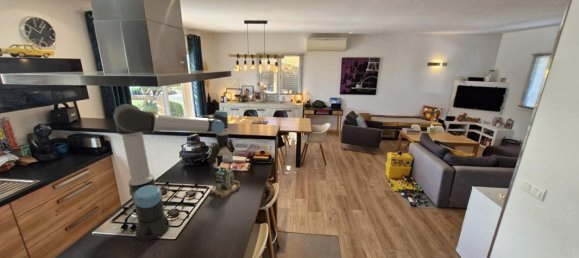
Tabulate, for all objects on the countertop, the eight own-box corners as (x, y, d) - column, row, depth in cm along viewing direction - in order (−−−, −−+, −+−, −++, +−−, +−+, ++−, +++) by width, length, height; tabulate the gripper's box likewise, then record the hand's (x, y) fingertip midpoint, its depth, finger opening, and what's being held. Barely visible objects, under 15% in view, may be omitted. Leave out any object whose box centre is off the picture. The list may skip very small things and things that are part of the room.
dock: (223, 198, 150) (222, 192, 148) (210, 192, 155) (210, 186, 154) (239, 187, 163) (239, 181, 162) (227, 183, 169) (227, 177, 168)
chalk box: (234, 184, 161) (233, 165, 157) (226, 191, 153) (225, 171, 149) (223, 182, 164) (222, 163, 160) (215, 188, 156) (213, 168, 152)
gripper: (210, 139, 136) (212, 172, 141) (239, 130, 157) (240, 159, 162) (202, 137, 140) (204, 169, 145) (231, 129, 161) (232, 157, 166)
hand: (223, 164), depth 154 cm, fingers open, 13 cm apart
